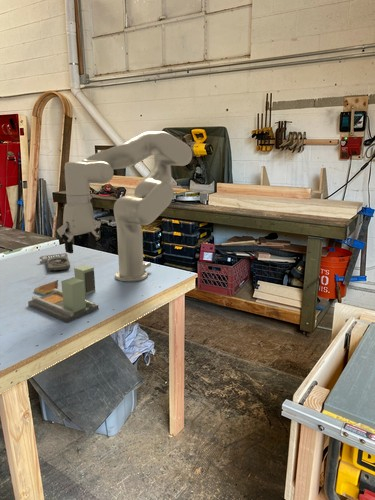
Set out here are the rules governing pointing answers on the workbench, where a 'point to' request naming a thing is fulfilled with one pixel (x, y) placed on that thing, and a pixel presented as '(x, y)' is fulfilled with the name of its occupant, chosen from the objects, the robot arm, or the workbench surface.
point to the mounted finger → (73, 294)
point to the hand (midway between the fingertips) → (81, 249)
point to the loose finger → (86, 277)
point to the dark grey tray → (59, 306)
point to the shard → (47, 288)
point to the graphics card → (56, 262)
